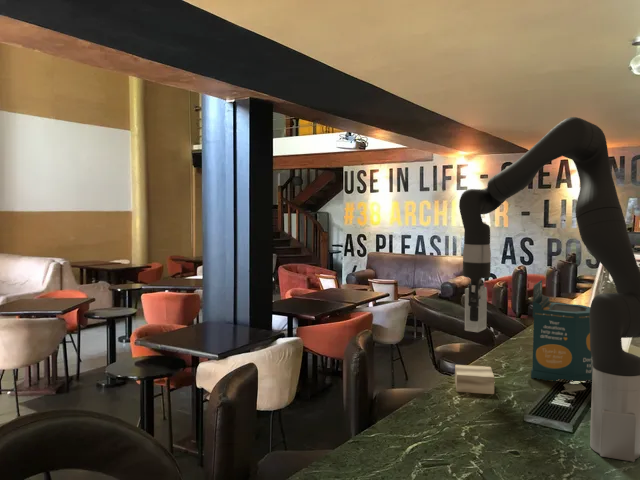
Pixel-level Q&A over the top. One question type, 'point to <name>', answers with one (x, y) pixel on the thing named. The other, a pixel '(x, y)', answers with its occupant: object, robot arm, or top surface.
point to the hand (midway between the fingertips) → (475, 318)
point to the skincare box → (482, 314)
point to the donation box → (560, 340)
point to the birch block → (474, 379)
